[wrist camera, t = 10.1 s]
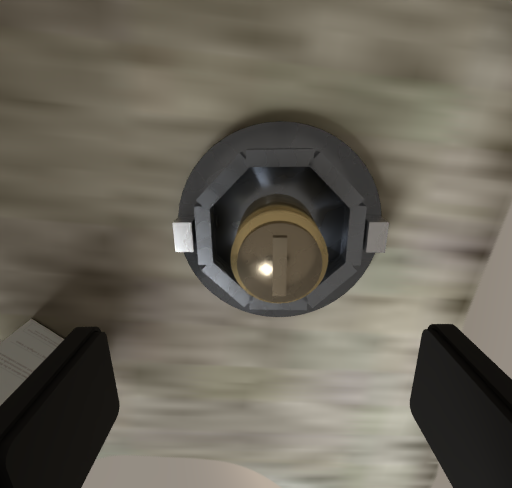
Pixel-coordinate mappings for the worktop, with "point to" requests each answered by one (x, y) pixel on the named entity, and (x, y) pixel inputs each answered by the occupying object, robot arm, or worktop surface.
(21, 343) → the supplement box
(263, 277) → the brass lock cylinder
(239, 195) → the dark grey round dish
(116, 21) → the worktop surface
